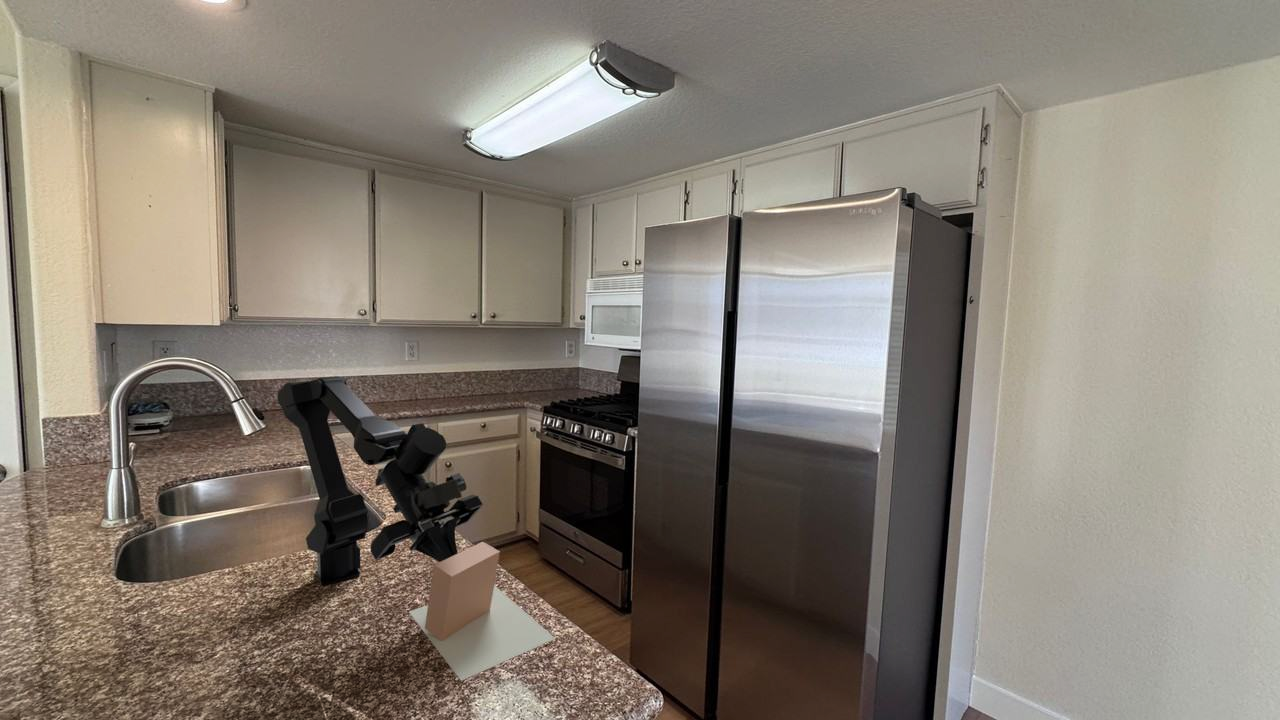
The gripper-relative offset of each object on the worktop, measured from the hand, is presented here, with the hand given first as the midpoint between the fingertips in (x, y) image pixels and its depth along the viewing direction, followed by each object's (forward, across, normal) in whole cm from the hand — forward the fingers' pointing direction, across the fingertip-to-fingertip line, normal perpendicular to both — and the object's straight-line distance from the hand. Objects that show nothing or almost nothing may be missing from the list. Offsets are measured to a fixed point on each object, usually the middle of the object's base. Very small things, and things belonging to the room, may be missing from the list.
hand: (456, 567), depth 84 cm
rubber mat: (+9, +1, +4) cm, 10 cm away
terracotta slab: (+6, 0, +6) cm, 8 cm away
